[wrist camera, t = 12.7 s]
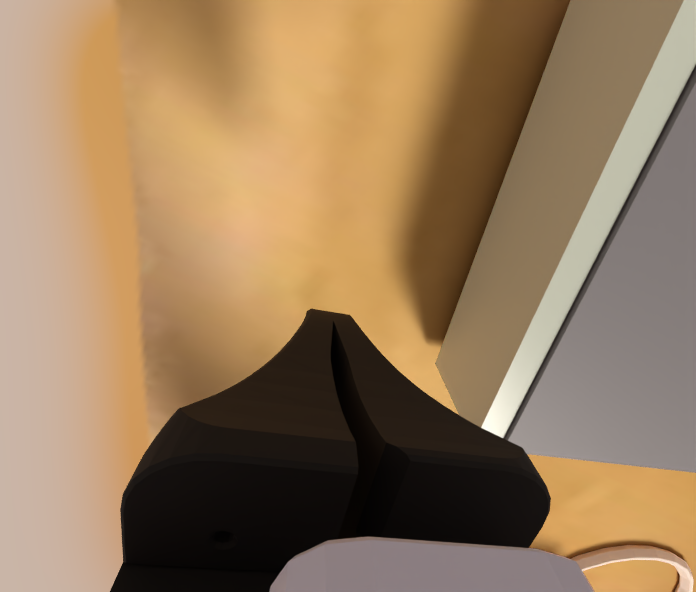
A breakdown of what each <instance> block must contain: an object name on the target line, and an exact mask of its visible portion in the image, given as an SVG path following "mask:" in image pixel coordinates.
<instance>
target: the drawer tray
mask: <svg viewBox="0 0 696 592" xmlns="http://www.w3.org/2000/svg"><path fill="white" fill-rule="evenodd" d="M695 65H696V0H570V3H569V6H568V8H567V11H566V14H565V16H564V19H563V22H562V25H561V27H560V30H559V33H558V35H557V38H556V41H555V43H554V46H553V49H552V51H551V54H550V57H549V59H548V62H547V65H546V68H545V70H544V73H543V76H542V78H541V81H540V84H539V86H538V89H537V92H536V94H535V97H534V100H533V102H532V105H531V108H530V110H529V113H528V116H527V119H526V121H525V124H524V127H523V129H522V132H521V135H520V137H519V140H518V143H517V145H516V148H515V151H514V153H513V156H512V159H511V162H510V164H509V167H508V170H507V172H506V175H505V178H504V180H503V183H502V186H501V188H500V191H499V194H498V196H497V199H496V202H495V205H494V207H493V210H492V213H491V215H490V218H489V221H488V223H487V226H486V229H485V231H484V234H483V237H482V239H481V242H480V245H479V247H478V250H477V253H476V256H475V258H474V261H473V264H472V266H471V269H470V272H469V274H468V277H467V280H466V282H465V285H464V288H463V290H462V293H461V296H460V299H459V301H458V304H457V307H456V309H455V312H454V315H453V317H452V320H451V323H450V325H449V328H448V331H447V333H446V336H445V339H444V342H443V344H442V347H441V350H440V352H439V355H438V358H437V360H436V363H435V364H436V366H437V368H438V370H439V373H440V375H441V377H442V379H443V381H444V383H445V385H446V388H447V390H448V392H449V394H450V396H451V398H452V400H453V403H454V405H455V407H456V409H457V411H458V413H459V415H460V416H461V417H463V418H465V419H466V420H468V421H470V422H472V423H473V424H475V425H477V426H479V427H481V428H483V429H485V430H487V431H489V432H491V433H493V434H495V435H497V436H499V437H501V438H504V436H505V434H506V432H507V430H508V428H509V426H510V425H511V423H512V421H513V419H514V417H515V415H516V413H517V411H518V409H519V407H520V405H521V403H522V401H523V399H524V397H525V395H526V393H527V392H528V390H529V388H530V386H531V384H532V382H533V380H534V378H535V376H536V374H537V372H538V370H539V368H540V366H541V364H542V362H543V360H544V359H545V357H546V355H547V353H548V351H549V349H550V347H551V345H552V343H553V341H554V339H555V337H556V335H557V333H558V331H559V329H560V327H561V326H562V324H563V322H564V320H565V318H566V316H567V314H568V312H569V310H570V308H571V306H572V304H573V302H574V300H575V298H576V296H577V294H578V293H579V291H580V289H581V287H582V285H583V283H584V281H585V279H586V277H587V275H588V273H589V271H590V269H591V267H592V265H593V263H594V261H595V259H596V258H597V256H598V254H599V252H600V250H601V248H602V246H603V244H604V242H605V240H606V238H607V236H608V234H609V232H610V230H611V228H612V226H613V225H614V223H615V221H616V219H617V217H618V215H619V213H620V211H621V209H622V207H623V205H624V203H625V201H626V199H627V197H628V195H629V193H630V192H631V190H632V188H633V186H634V184H635V182H636V180H637V178H638V176H639V174H640V172H641V170H642V168H643V166H644V164H645V162H646V160H647V159H648V157H649V155H650V153H651V151H652V149H653V147H654V145H655V143H656V141H657V139H658V137H659V135H660V133H661V131H662V129H663V127H664V126H665V124H666V122H667V120H668V118H669V116H670V114H671V112H672V110H673V108H674V106H675V104H676V102H677V100H678V98H679V96H680V94H681V93H682V91H683V89H684V87H685V85H686V83H687V81H688V79H689V77H690V75H691V73H692V71H693V69H694V67H695Z"/></svg>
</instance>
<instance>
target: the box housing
mask: <svg viewBox="0 0 696 592" xmlns="http://www.w3.org/2000/svg"><path fill="white" fill-rule="evenodd" d="M504 439H506V440H508V441H510V442H512V443H514V444H516V445H518V446H520V447H522V448H523V449H524V451H525V452H526V454H531V455H541V456H550V457H559V458H568V459H577V460H586V461H595V462H604V463H613V464H622V465H631V466H640V467H649V468H658V469H668V470H677V471H686V472H695V473H696V65H695V67H694V69H693V71H692V73H691V75H690V77H689V79H688V81H687V83H686V85H685V87H684V89H683V91H682V93H681V94H680V96H679V98H678V100H677V102H676V104H675V106H674V108H673V110H672V112H671V114H670V116H669V118H668V120H667V122H666V124H665V126H664V127H663V129H662V131H661V133H660V135H659V137H658V139H657V141H656V143H655V145H654V147H653V149H652V151H651V153H650V155H649V157H648V159H647V160H646V162H645V164H644V166H643V168H642V170H641V172H640V174H639V176H638V178H637V180H636V182H635V184H634V186H633V188H632V190H631V192H630V193H629V195H628V197H627V199H626V201H625V203H624V205H623V207H622V209H621V211H620V213H619V215H618V217H617V219H616V221H615V223H614V225H613V226H612V228H611V230H610V232H609V234H608V236H607V238H606V240H605V242H604V244H603V246H602V248H601V250H600V252H599V254H598V256H597V258H596V259H595V261H594V263H593V265H592V267H591V269H590V271H589V273H588V275H587V277H586V279H585V281H584V283H583V285H582V287H581V289H580V291H579V293H578V294H577V296H576V298H575V300H574V302H573V304H572V306H571V308H570V310H569V312H568V314H567V316H566V318H565V320H564V322H563V324H562V326H561V327H560V329H559V331H558V333H557V335H556V337H555V339H554V341H553V343H552V345H551V347H550V349H549V351H548V353H547V355H546V357H545V359H544V360H543V362H542V364H541V366H540V368H539V370H538V372H537V374H536V376H535V378H534V380H533V382H532V384H531V386H530V388H529V390H528V392H527V393H526V395H525V397H524V399H523V401H522V403H521V405H520V407H519V409H518V411H517V413H516V415H515V417H514V419H513V421H512V423H511V425H510V426H509V428H508V430H507V432H506V434H505V436H504Z"/></svg>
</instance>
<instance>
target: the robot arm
mask: <svg viewBox="0 0 696 592" xmlns="http://www.w3.org/2000/svg"><path fill="white" fill-rule="evenodd" d="M550 500H551V498H550V495H549V492H548V489H547V486H546V485H545V483H544V481H543V480H542V478H541V476H540V475H539V473H538V472H537V470H536V468H535V467H534V465H533V463H532V462H531V460H530V459H529V457H528V455H527V454H526V452H525V451H524V449H523V448H522V447H520V446H518V445H516V444H514V443H512V442H510V441H508V440H506V439H504V438H501V437H499V436H497V435H495V434H493V433H491V432H489V431H487V430H485V429H483V428H481V427H479V426H477V425H475V424H473V423H472V422H470V421H468V420H466V419H465V418H463V417H461V416H459V415H458V414H456V413H454V412H453V411H451V410H450V409H448V408H446V407H445V406H443V405H442V404H440V403H439V402H437V401H436V400H435V399H433V398H432V397H430V396H429V395H427V394H426V393H425V392H423V391H422V390H421V389H419V388H418V387H417V386H416V385H414V384H413V383H412V382H411V381H410V380H408V379H407V378H406V377H405V376H404V375H403V374H401V373H400V372H399V371H398V370H397V369H396V368H395V367H394V366H393V365H392V364H391V363H390V362H389V361H388V360H387V359H386V358H385V357H384V356H383V355H382V354H381V353H380V351H379V350H378V349H377V348H376V347H375V346H374V345H373V343H372V342H371V341H370V340H369V339H368V337H367V336H366V335H365V334H364V332H363V331H362V330H361V329H360V327H359V326H358V325H357V323H356V322H355V321H354V319H353V318H352V317H351V316H350V315H346V314H340V313H334V312H328V311H321V310H315V309H310V310H308V311H307V313H306V317H305V319H304V321H303V323H302V324H301V326H300V328H299V329H298V330H297V332H296V333H295V334H294V336H293V337H292V338H291V340H290V341H289V342H288V343H287V344H286V345H285V346H284V347H283V348H282V349H281V351H280V352H279V353H278V354H276V355H275V356H274V357H273V358H272V359H271V360H270V361H269V362H268V363H266V364H265V365H264V366H263V367H261V368H260V369H259V370H257V371H256V372H254V373H253V374H252V375H250V376H249V377H247V378H246V379H244V380H243V381H241V382H239V383H238V384H236V385H234V386H232V387H230V388H228V389H227V390H224V391H222V392H220V393H218V394H216V395H214V396H211V397H209V398H206V399H203V400H201V401H198V402H196V403H193V404H190V405H188V406H185V407H182V408H179V409H178V410H177V411H176V412H175V413H174V414H173V416H172V417H171V418H170V419H169V421H168V422H167V423H166V424H165V426H164V427H163V428H162V429H161V431H160V432H159V434H158V435H157V436H156V438H155V439H154V440H153V442H152V443H151V445H150V446H149V448H148V449H147V451H146V452H145V454H144V455H143V457H142V459H141V461H140V462H139V464H138V466H137V468H136V470H135V472H134V474H133V476H132V478H131V480H130V482H129V483H128V486H127V488H126V489H125V491H124V493H123V497H122V503H121V528H122V547H123V561H124V562H123V564H122V566H121V568H120V570H119V573H118V575H117V577H116V579H115V582H114V584H113V586H112V588H111V591H110V592H595V591H594V590H593V588H592V586H591V585H590V583H589V581H588V579H587V578H586V576H585V575H584V573H583V572H582V570H581V569H580V567H579V565H578V564H577V562H576V561H574V560H571V559H569V558H566V557H564V556H560V555H557V554H553V553H550V552H546V551H543V550H540V549H534V548H529V546H530V545H531V543H532V542H533V540H534V539H535V537H536V536H537V534H538V533H539V531H540V530H541V528H542V527H543V524H544V522H545V520H546V518H547V516H548V514H549V511H550Z"/></svg>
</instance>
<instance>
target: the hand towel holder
mask: <svg viewBox="0 0 696 592" xmlns="http://www.w3.org/2000/svg"><path fill="white" fill-rule="evenodd" d="M571 560H574V561H576V562H577V564H578V565H579V567H580V569H581V570H582V571H584V570H587V569H590V568H594V567H598V566H601V565H605V564H608V563H613V562H621V561H628V560H658V561H662V562H666V563H670V564H671V565H673V566H675V568H676V569H677V571H678V573H679V575H680V576H679V583H678V585H677V587H676V589H675V591H674V592H693V576H692V572H691V570H690V568H689V566H688V565H687V563H686V561H684V560H683V559H681V558H680V557H678V556H677V555H675V554H673V553H672V552H670V551H668V550H665V549H661V548H657V547H653V546H644V545H624V546H616V547H609V548H602V549H599V550H595V551H592V552H588V553H585V554H581V555H578V556H576V557H573V558H571Z"/></svg>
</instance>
